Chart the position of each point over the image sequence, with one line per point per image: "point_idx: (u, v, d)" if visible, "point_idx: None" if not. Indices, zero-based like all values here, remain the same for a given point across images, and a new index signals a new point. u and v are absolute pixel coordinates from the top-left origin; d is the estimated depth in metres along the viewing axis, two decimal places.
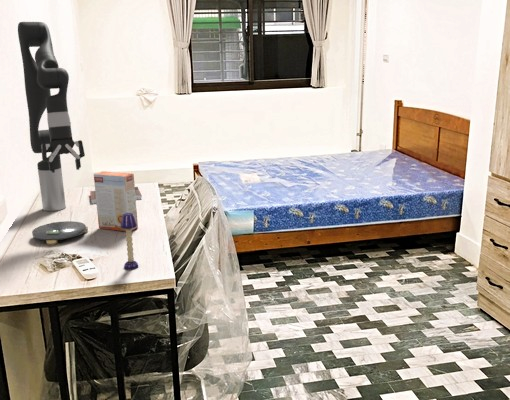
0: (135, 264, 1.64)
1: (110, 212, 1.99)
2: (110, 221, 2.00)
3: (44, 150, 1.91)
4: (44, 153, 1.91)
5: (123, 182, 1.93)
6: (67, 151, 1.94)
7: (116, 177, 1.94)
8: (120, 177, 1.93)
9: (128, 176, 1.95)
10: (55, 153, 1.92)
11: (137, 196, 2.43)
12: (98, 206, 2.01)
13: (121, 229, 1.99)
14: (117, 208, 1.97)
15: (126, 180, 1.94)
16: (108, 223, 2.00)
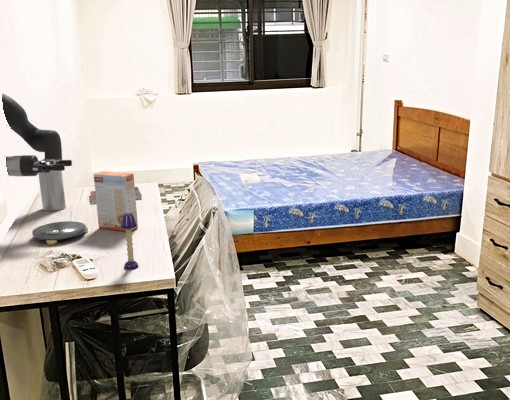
0: (135, 264, 1.64)
1: (110, 212, 1.99)
2: (110, 221, 2.00)
3: None
4: None
5: (123, 182, 1.93)
6: None
7: (116, 177, 1.94)
8: (120, 177, 1.93)
9: (128, 176, 1.95)
10: None
11: (137, 196, 2.43)
12: (98, 206, 2.01)
13: (121, 229, 1.99)
14: (117, 208, 1.97)
15: (126, 180, 1.94)
16: (108, 223, 2.00)
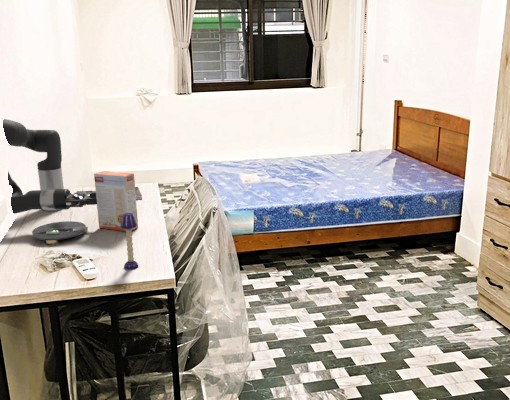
0: (135, 264, 1.64)
1: (111, 212, 1.99)
2: (110, 221, 2.00)
3: None
4: None
5: (124, 182, 1.93)
6: None
7: (116, 177, 1.94)
8: (120, 177, 1.93)
9: (128, 176, 1.95)
10: None
11: (137, 196, 2.43)
12: (99, 206, 2.01)
13: (121, 229, 1.99)
14: (117, 207, 1.97)
15: (126, 180, 1.94)
16: (108, 222, 2.00)
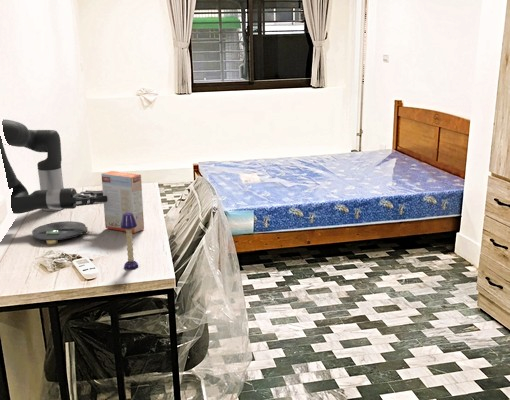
0: (135, 264, 1.64)
1: (117, 213, 1.97)
2: (116, 221, 1.98)
3: None
4: None
5: (130, 183, 1.91)
6: None
7: (123, 178, 1.92)
8: (127, 178, 1.91)
9: (135, 177, 1.93)
10: None
11: None
12: (105, 206, 1.99)
13: None
14: (123, 208, 1.95)
15: (133, 181, 1.92)
16: (114, 223, 1.99)
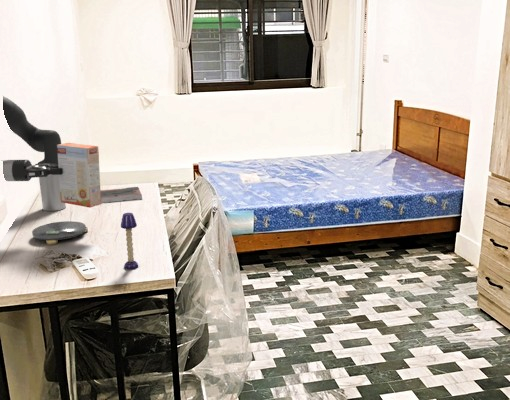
0: (135, 264, 1.64)
1: (72, 186, 1.88)
2: (71, 195, 1.90)
3: None
4: None
5: (86, 154, 1.83)
6: None
7: (79, 149, 1.84)
8: (83, 149, 1.83)
9: (91, 148, 1.84)
10: None
11: (137, 196, 2.43)
12: (61, 179, 1.91)
13: (82, 204, 1.88)
14: (79, 181, 1.87)
15: (89, 152, 1.83)
16: (69, 197, 1.90)
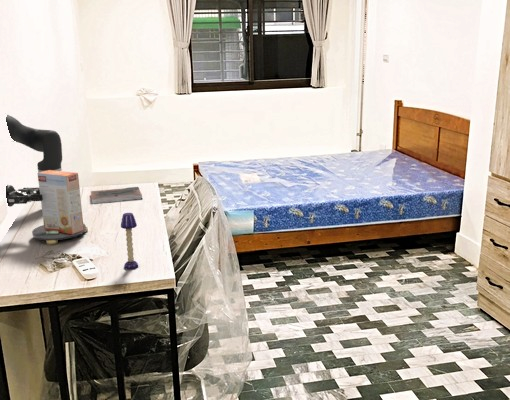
0: (135, 264, 1.64)
1: (54, 213, 1.88)
2: (54, 223, 1.90)
3: None
4: None
5: (65, 182, 1.82)
6: None
7: (58, 176, 1.83)
8: (62, 176, 1.83)
9: (71, 176, 1.84)
10: None
11: (137, 196, 2.43)
12: (43, 206, 1.91)
13: (65, 231, 1.88)
14: (60, 209, 1.86)
15: (68, 180, 1.83)
16: (52, 224, 1.90)
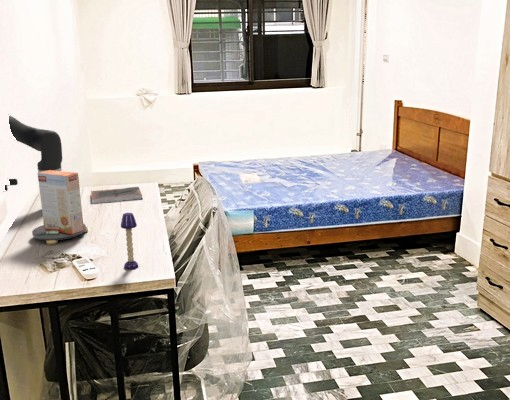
0: (135, 264, 1.64)
1: (54, 213, 1.88)
2: (54, 223, 1.90)
3: None
4: None
5: (65, 182, 1.82)
6: None
7: (58, 176, 1.83)
8: (62, 176, 1.83)
9: (71, 176, 1.84)
10: None
11: (138, 196, 2.43)
12: (43, 206, 1.91)
13: (65, 231, 1.88)
14: (60, 209, 1.86)
15: (68, 180, 1.83)
16: (52, 224, 1.90)
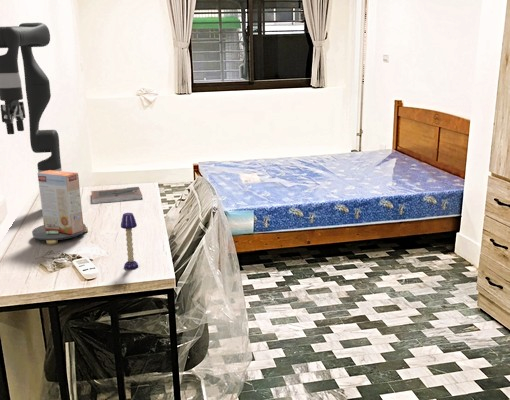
0: (135, 264, 1.64)
1: (54, 213, 1.88)
2: (54, 223, 1.90)
3: None
4: None
5: (65, 182, 1.82)
6: None
7: (58, 176, 1.83)
8: (62, 176, 1.83)
9: (71, 176, 1.84)
10: None
11: (138, 196, 2.43)
12: (43, 206, 1.91)
13: (65, 231, 1.88)
14: (60, 209, 1.86)
15: (68, 180, 1.83)
16: (52, 224, 1.90)
